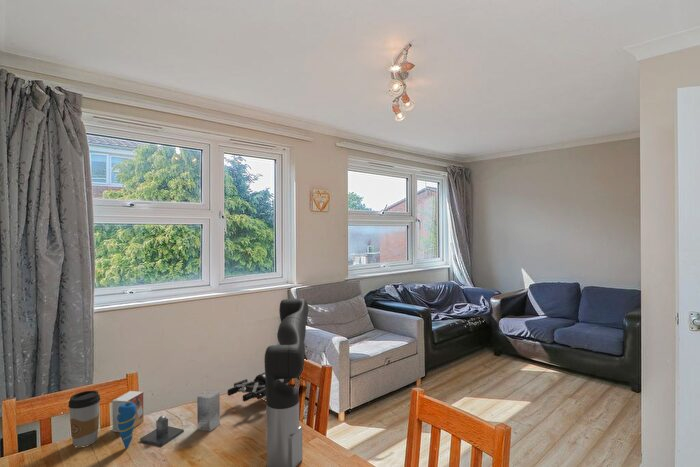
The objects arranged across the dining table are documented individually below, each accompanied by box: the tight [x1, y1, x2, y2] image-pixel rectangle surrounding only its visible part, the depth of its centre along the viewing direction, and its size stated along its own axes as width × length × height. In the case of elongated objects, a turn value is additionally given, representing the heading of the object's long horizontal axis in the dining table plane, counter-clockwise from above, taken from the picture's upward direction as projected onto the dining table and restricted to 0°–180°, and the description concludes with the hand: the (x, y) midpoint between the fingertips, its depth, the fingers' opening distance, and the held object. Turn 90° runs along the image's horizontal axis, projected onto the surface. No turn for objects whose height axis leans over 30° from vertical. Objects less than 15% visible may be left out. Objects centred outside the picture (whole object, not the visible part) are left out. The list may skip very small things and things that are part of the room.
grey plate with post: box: [139, 415, 185, 447], centre depth 125 cm, size 9×9×7 cm
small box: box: [111, 390, 145, 433], centre depth 131 cm, size 8×6×10 cm
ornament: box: [117, 399, 137, 449], centre depth 118 cm, size 5×5×15 cm
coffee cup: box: [67, 390, 101, 447], centre depth 121 cm, size 8×8×15 cm
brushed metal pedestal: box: [196, 390, 221, 432], centre depth 130 cm, size 5×5×11 cm
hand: (235, 395), depth 139 cm, fingers open, 8 cm apart
